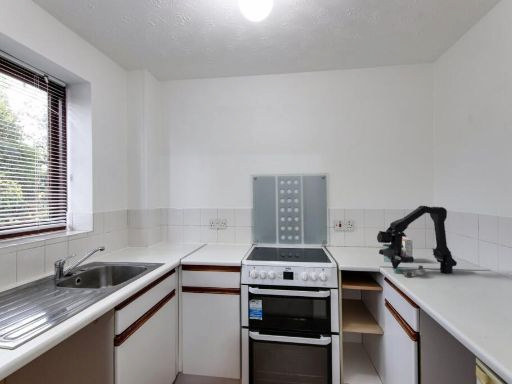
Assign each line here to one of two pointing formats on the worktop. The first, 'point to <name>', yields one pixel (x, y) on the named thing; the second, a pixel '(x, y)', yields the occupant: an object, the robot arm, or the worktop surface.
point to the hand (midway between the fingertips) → (394, 269)
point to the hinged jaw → (403, 270)
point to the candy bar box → (406, 247)
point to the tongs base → (414, 272)
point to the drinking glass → (386, 256)
